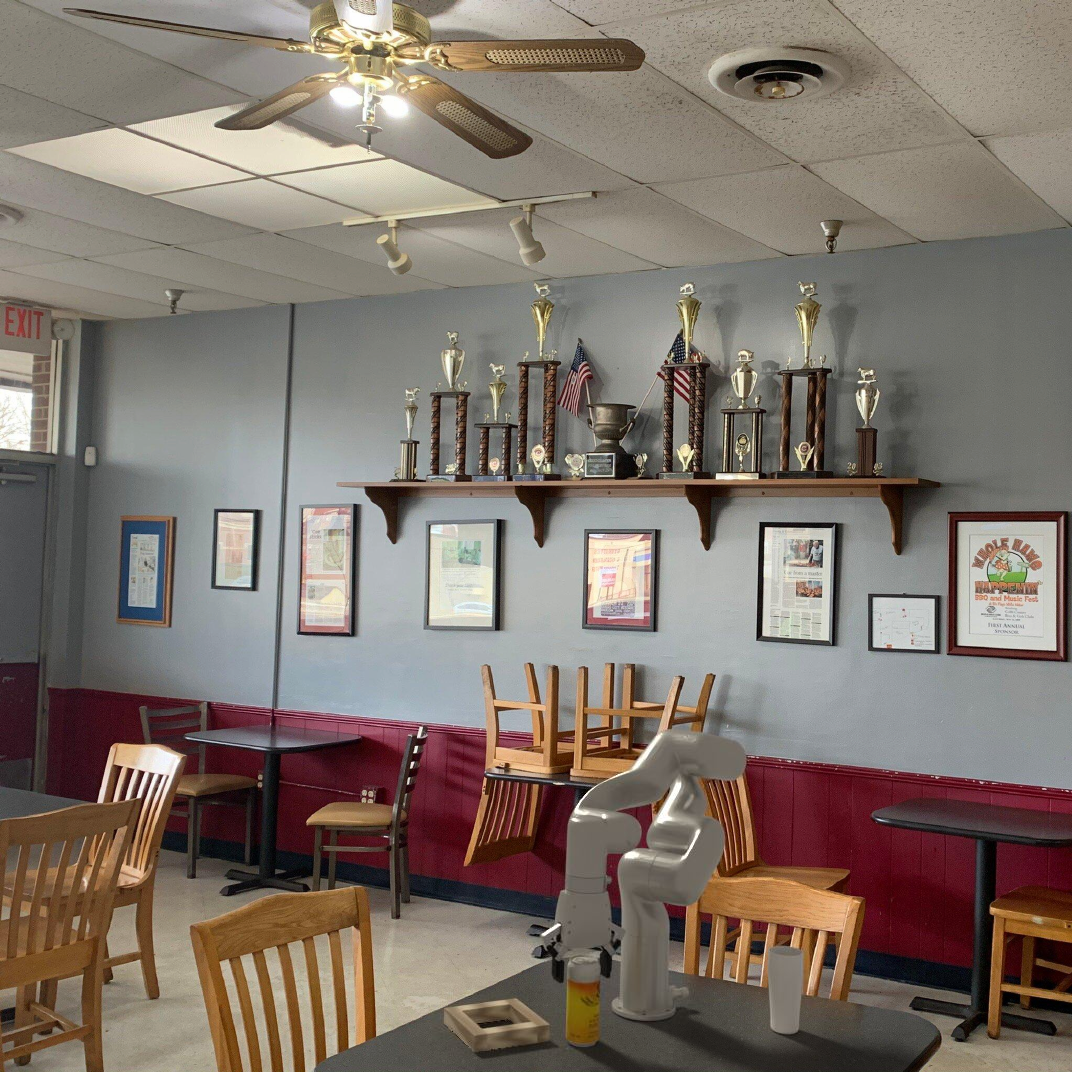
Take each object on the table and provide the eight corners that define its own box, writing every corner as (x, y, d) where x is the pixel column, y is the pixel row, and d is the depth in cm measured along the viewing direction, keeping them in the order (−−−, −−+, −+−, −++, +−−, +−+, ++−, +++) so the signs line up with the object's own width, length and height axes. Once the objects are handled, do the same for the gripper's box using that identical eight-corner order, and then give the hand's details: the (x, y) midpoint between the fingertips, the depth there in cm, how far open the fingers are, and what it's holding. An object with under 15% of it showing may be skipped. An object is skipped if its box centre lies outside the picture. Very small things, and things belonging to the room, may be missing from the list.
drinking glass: (806, 1027, 231) (807, 948, 231) (798, 1039, 224) (799, 958, 225) (771, 1021, 233) (772, 943, 234) (762, 1032, 227) (764, 952, 228)
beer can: (596, 1049, 217) (598, 965, 217) (562, 1046, 218) (565, 962, 219) (600, 1037, 223) (602, 955, 223) (568, 1034, 224) (570, 953, 225)
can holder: (515, 1013, 234) (516, 998, 234) (549, 1041, 220) (549, 1024, 220) (443, 1024, 227) (444, 1008, 227) (474, 1052, 214) (474, 1035, 214)
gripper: (616, 877, 228) (612, 968, 227) (534, 882, 221) (530, 976, 220) (636, 886, 222) (632, 980, 221) (552, 891, 214) (548, 989, 213)
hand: (581, 978), depth 220 cm, fingers open, 9 cm apart
